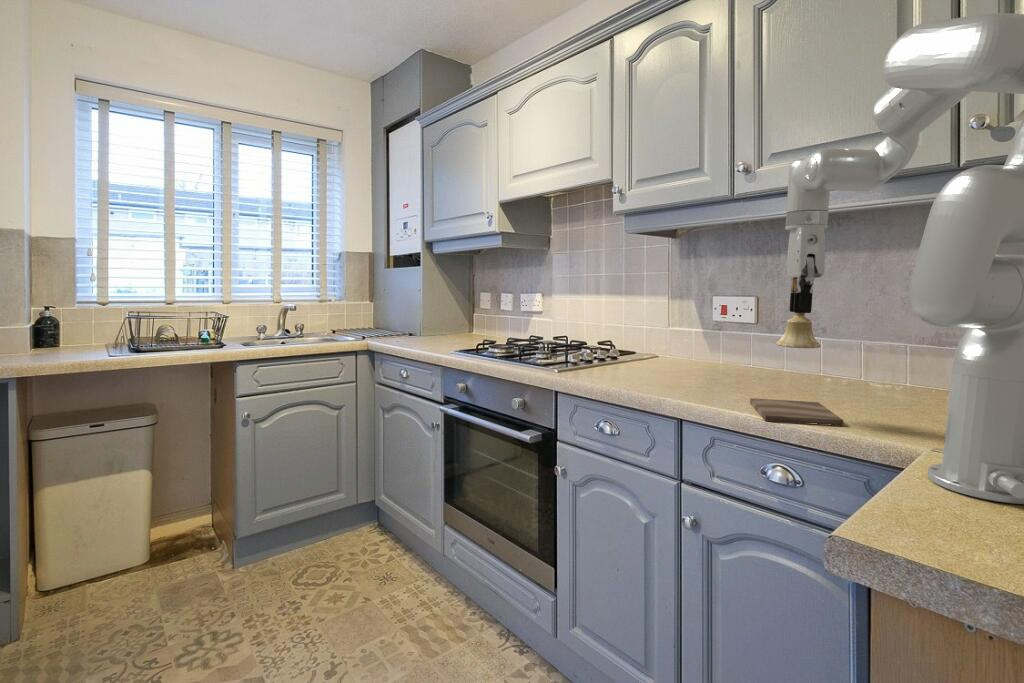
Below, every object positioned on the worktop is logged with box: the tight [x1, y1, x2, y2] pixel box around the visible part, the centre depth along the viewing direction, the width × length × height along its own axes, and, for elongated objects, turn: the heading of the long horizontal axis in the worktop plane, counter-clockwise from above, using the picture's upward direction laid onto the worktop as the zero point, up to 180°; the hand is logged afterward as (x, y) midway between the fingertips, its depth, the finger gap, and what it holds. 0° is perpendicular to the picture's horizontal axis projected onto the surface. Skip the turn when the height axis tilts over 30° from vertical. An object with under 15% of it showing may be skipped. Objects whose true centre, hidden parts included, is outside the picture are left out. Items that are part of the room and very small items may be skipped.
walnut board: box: [749, 397, 844, 426], centre depth 116 cm, size 16×14×1 cm
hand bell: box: [775, 275, 821, 349], centre depth 113 cm, size 8×8×16 cm
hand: (800, 311), depth 113 cm, fingers closed on hand bell
